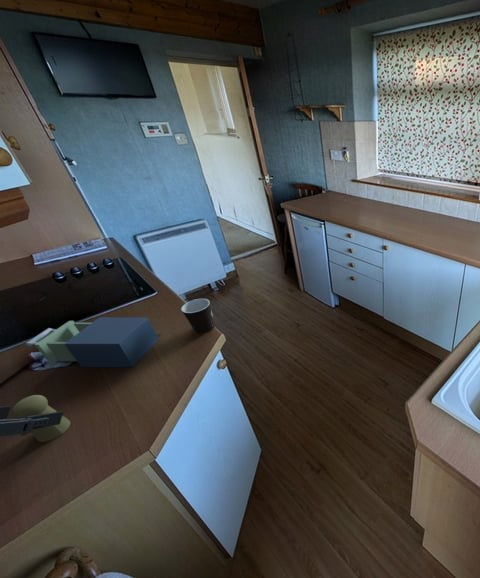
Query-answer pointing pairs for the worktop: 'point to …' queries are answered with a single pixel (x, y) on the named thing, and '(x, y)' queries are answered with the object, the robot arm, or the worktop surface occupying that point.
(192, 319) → the coffee mug
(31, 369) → the worktop surface
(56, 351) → the drawer
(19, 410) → the cork
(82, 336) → the block
